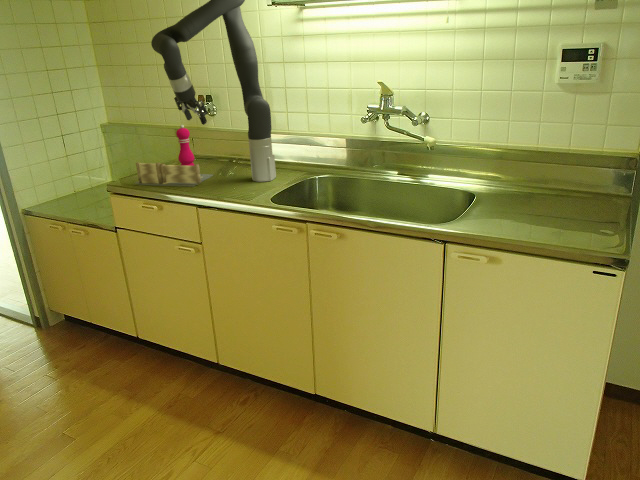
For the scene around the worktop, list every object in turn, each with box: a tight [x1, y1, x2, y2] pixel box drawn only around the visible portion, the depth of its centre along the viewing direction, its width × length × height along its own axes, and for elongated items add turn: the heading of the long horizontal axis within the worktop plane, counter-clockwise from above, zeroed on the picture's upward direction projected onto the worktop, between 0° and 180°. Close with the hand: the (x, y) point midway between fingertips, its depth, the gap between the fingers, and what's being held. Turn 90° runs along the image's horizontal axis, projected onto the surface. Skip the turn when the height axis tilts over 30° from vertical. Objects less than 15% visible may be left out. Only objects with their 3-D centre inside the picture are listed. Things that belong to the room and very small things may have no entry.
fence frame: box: [135, 161, 163, 184], centre depth 227 cm, size 11×2×9 cm, turn 74°
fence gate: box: [160, 163, 202, 185], centre depth 223 cm, size 17×2×8 cm, turn 74°
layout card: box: [133, 173, 214, 188], centre depth 233 cm, size 28×18×1 cm, turn 74°
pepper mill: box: [175, 124, 195, 166], centre depth 250 cm, size 7×7×20 cm
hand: (197, 121), depth 217 cm, fingers open, 8 cm apart
